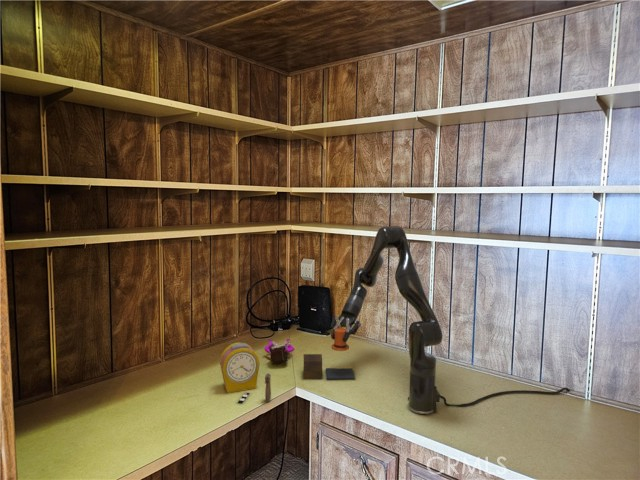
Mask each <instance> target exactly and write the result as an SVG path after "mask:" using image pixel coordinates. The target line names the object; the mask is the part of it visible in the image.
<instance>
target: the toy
mask: <svg viewBox="0 0 640 480" xmlns="http://www.w3.org/2000/svg"><path fill="white" fill-rule="evenodd" d="M263 349H264V351H265V352H266V353H267V354H268V355H269V357H270V363H271V364H272V366H280V365H284V364H286V363H287V362H288V361H289V360H288V359H289V354H290V353H292V352H294V351H295V350H296V349H295V347H294V346H292V344H291V343H290V338H286V341H285V342H284V343H283V344H279V343H277V342H275V341H274V340H272V338H270V339H268V344H267V345H266V346H265V347H263Z"/></svg>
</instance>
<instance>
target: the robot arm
mask: <svg viewBox="0 0 640 480" xmlns="http://www.w3.org/2000/svg"><path fill="white" fill-rule="evenodd" d="M407 237H408V236H407V234H406V232H405V230H404V228H403V227H402V226H400V225H390V226H381V227H380V228H379V229H378V231H377V232H376V234H375V237H374V241H373V243H372V248H371V251H370V254H369V256H368V258H367V260H366V261H365V263H364V266H363V267H359V268H358V269H357V270H356V271H355V273H354V274H355V275H354V280H353V286H352V289H351V291H350V293H349V296H348V297H347V299H346V301H345V303H344V305H343V308H342V309H341V312H340V314H339V316H336V315H333V316H332V319H331V323H330V328H331V330H332V332H331V334H330V338H331V340H334V336H335V329H337V328H345V329H346V332H345V335H344V337H343V339H342V340H343V342H346V343H347V342H348V340H349V338H350V336H351V335H353V336H354V335H356V333H357V332H358V330H359V329H360V327H361V325H362V323H361V322H360V320H358V318H359V315H360V313H361V310H362V308H363V305H364V303H365V300H366V297H367V295H368V290H367V288H373V287H374V286H375V285H376V284H377V282H378V274H379V272H380V271H381V269H382V267H383V265H384V255H383V253H382V252H383V251H384V250H386V249H387V250H389V249H391V250H392V249H396V252H397V254H398V263H397V266H396V270H395V273H394V280H395V283H396V286H397V289H398V292H399V294H400V295H401V297H402V298H403V299H404V300H405V301H406V302H407V303H408V304H409V305H411V306H412V308H414V310H415V311H416V312H417V313H418V315H419V318H420V320H418V321H413V322H411V323H410V325H409V328H408V355H409V385H408V386H409V387H408V388H409V389H408V397H407V401H408V409H409V410H410V411H411V412H413V413H415V414H417V415H431V414H433V413H437V403H441V399H442V400H443V403H444V405H445V406H447V407H466V406H467V407H468V406H472V405H475V404H477V403H479V402H481V401H483V400H487V399H489V398H491V397H494V396H498V395H504V394H515V393H522V394H523V393H528V394H543V395H544V394H545V395H556V394H560V393H562V392H564V391H567V392H571V390H570V389H569V388H568V387H562V388H560V389H558V390H557V391H546V390H545V391H544V390H526V389H525V390H523V389H522V390H519V389H518V390H516V389H515V390H505V391H497V392H494V393H490V394H487V395H485V396H482V397H480V398H477V399H476V400H474V401H471V402H465V403H461V404H450V403H447V399H446V397H445V396H443V395H441V394H440V392H439V391H438V386H437V385H436V376H437V374H436V373H437V358H436V356H435V355H433V354H432V353H430V352H426V350H425V349H426V348H427V347H433V346H438V345H440V344H441V343H442V341H443V331H442V328H441V324H440V322H439V321H438V318H437V316H436V314H435V312H434V310H433V308H432V305H431V304H430V302H429V299H428V297H427V294H426V292H425V288H424V286H423V283H422V279H421V277H420V275H419V272H418V270H417V267H416V265H415V261H414V259H413V255H412V252H411V249H410V245H409V241H408V238H407ZM366 287H367V288H366Z"/></svg>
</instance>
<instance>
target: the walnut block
mask: <svg viewBox="0 0 640 480" xmlns="http://www.w3.org/2000/svg"><path fill="white" fill-rule="evenodd" d="M303 380H323V354H321V353H303Z"/></svg>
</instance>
